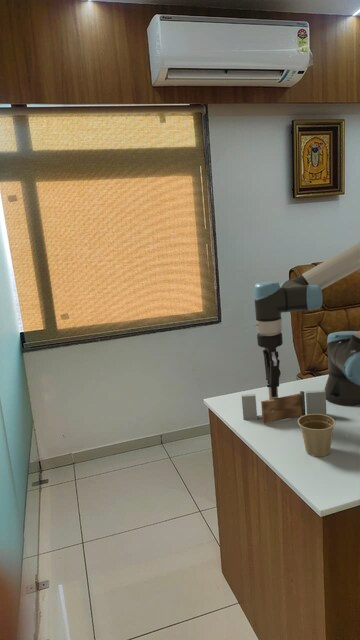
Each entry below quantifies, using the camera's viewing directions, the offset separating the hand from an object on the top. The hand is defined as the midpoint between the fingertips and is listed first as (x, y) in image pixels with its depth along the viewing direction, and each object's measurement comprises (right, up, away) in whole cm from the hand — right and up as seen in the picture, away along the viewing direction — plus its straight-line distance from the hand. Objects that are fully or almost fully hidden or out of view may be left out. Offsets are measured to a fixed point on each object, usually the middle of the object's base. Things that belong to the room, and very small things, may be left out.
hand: (273, 404), depth 131 cm
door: (+4, -5, -1) cm, 6 cm away
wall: (+4, -4, +2) cm, 6 cm away
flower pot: (+7, -9, -20) cm, 23 cm away
